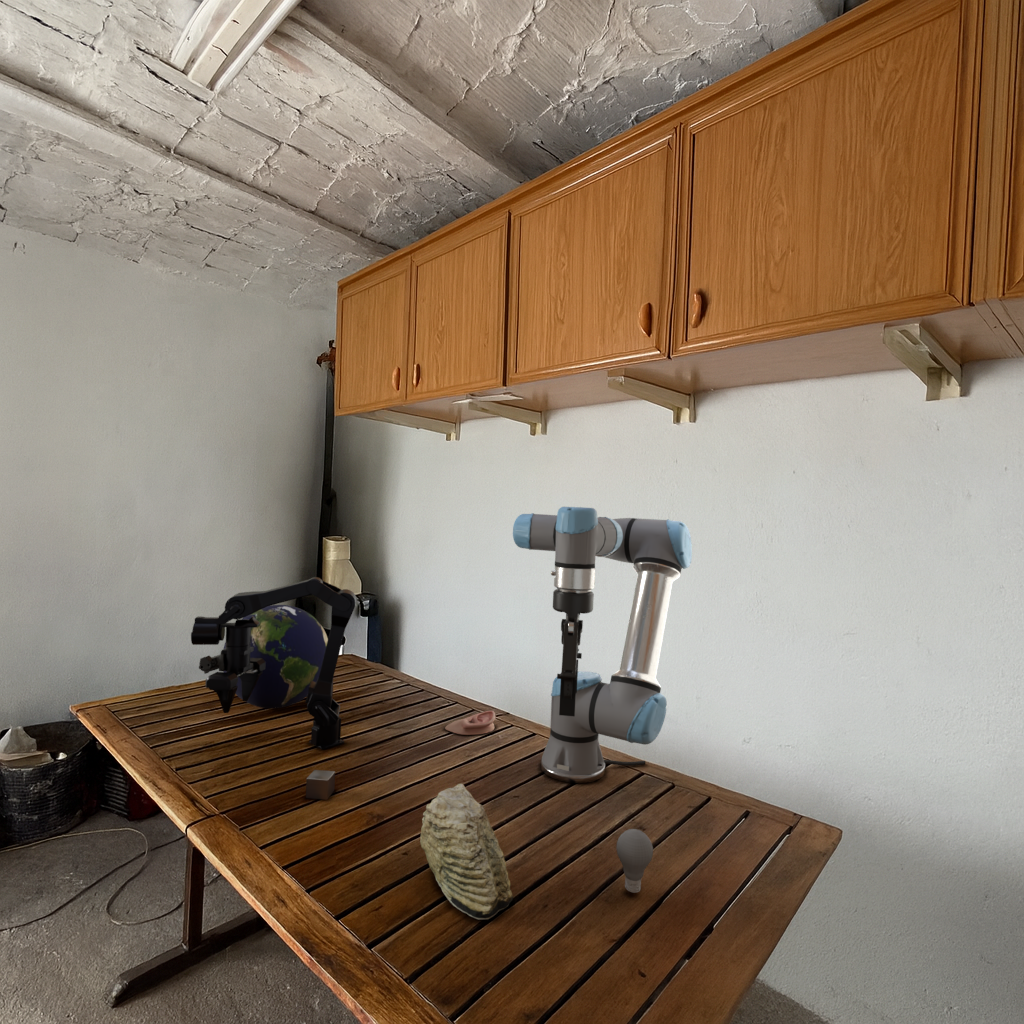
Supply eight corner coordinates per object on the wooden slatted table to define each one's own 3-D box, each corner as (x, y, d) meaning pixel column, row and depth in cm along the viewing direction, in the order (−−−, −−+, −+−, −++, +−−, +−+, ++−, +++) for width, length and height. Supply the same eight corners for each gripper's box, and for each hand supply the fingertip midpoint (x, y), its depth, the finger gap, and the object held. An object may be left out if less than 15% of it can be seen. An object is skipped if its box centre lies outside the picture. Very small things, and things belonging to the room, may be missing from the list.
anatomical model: (442, 717, 173) (454, 704, 184) (441, 732, 173) (453, 718, 184) (489, 723, 170) (498, 710, 181) (488, 738, 170) (498, 723, 181)
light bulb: (610, 879, 108) (613, 822, 108) (644, 879, 109) (647, 822, 109) (619, 902, 102) (622, 840, 102) (655, 901, 103) (658, 840, 103)
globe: (289, 685, 209) (292, 594, 208) (348, 705, 191) (352, 606, 191) (199, 706, 185) (203, 604, 184) (258, 732, 167) (262, 619, 167)
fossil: (447, 853, 114) (450, 771, 114) (521, 902, 101) (525, 809, 101) (406, 873, 108) (410, 785, 107) (480, 928, 95) (484, 828, 94)
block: (313, 788, 137) (314, 769, 137) (334, 790, 137) (335, 771, 137) (305, 798, 133) (306, 778, 133) (326, 800, 133) (327, 780, 132)
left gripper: (226, 634, 167) (224, 693, 168) (184, 651, 149) (182, 717, 149) (267, 637, 166) (265, 696, 167) (230, 654, 148) (228, 720, 148)
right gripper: (557, 580, 131) (552, 682, 131) (548, 598, 106) (543, 724, 106) (594, 582, 130) (589, 685, 130) (593, 601, 105) (588, 728, 105)
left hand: (235, 706), depth 158 cm, fingers open, 9 cm apart
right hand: (568, 703), depth 118 cm, fingers open, 13 cm apart
